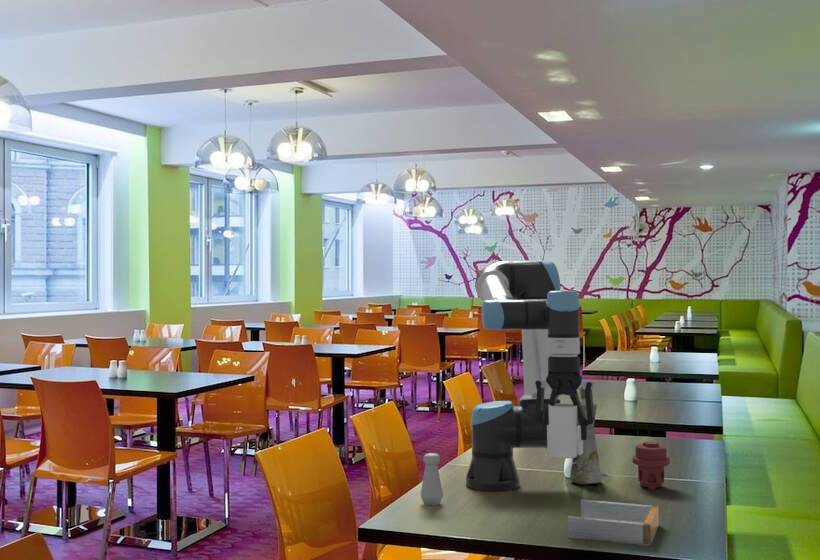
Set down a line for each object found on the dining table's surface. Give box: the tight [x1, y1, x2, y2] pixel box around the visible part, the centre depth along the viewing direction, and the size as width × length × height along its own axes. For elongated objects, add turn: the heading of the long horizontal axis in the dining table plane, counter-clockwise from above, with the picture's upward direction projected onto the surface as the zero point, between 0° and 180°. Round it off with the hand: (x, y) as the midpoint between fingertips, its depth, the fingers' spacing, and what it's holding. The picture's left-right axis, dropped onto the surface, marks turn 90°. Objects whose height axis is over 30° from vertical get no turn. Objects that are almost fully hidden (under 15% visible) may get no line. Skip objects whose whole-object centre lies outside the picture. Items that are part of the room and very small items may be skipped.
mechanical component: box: [632, 440, 671, 491], centre depth 240 cm, size 12×10×10 cm
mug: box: [549, 402, 578, 459], centre depth 205 cm, size 10×7×12 cm, turn 167°
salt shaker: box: [420, 452, 444, 507], centre depth 224 cm, size 6×6×13 cm
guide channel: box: [567, 499, 660, 547], centre depth 198 cm, size 18×17×4 cm
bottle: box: [569, 385, 602, 486], centre depth 246 cm, size 9×9×28 cm
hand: (565, 452), depth 204 cm, fingers closed on mug, 6 cm apart
